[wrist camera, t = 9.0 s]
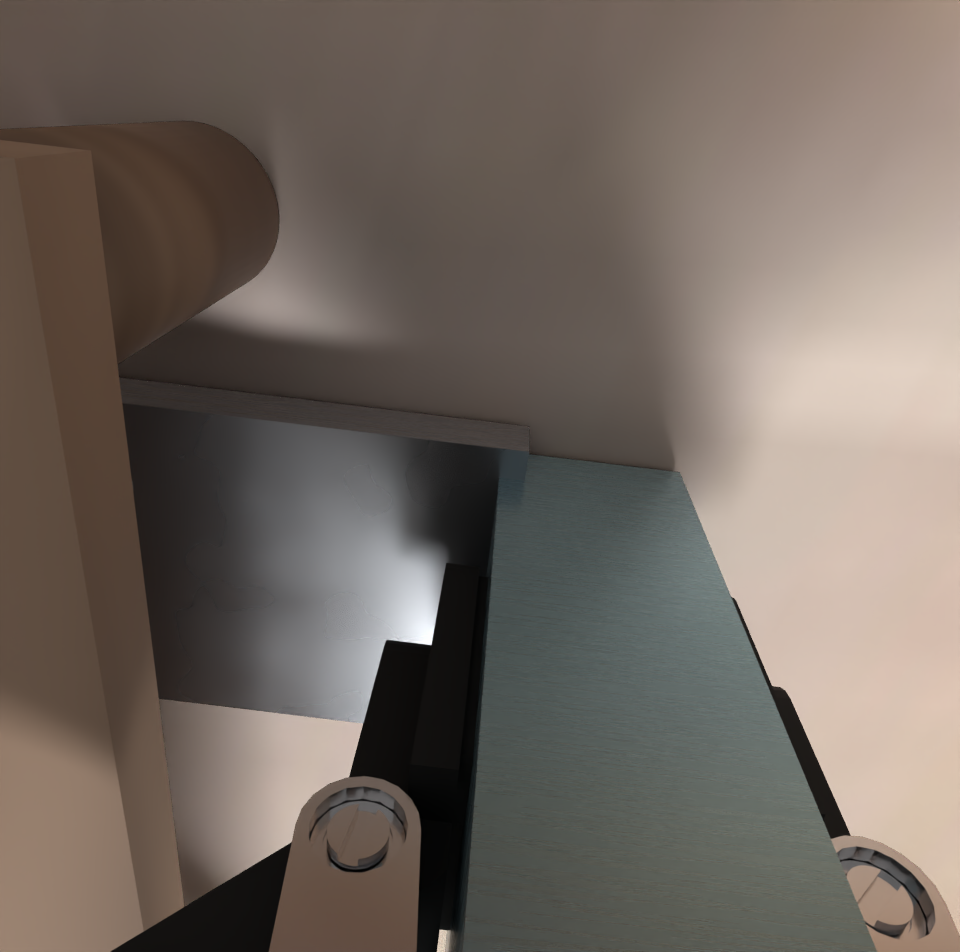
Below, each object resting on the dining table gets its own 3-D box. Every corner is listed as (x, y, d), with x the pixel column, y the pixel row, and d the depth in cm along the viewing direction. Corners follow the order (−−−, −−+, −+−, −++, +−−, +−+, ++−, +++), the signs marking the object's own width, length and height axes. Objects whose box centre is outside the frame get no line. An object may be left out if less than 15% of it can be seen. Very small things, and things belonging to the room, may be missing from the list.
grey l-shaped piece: (686, 444, 12) (995, 1112, 4) (617, 715, 15) (723, 1435, 7) (-338, 322, 12) (-1997, 741, 4) (-220, 613, 15) (-1092, 1207, 7)
